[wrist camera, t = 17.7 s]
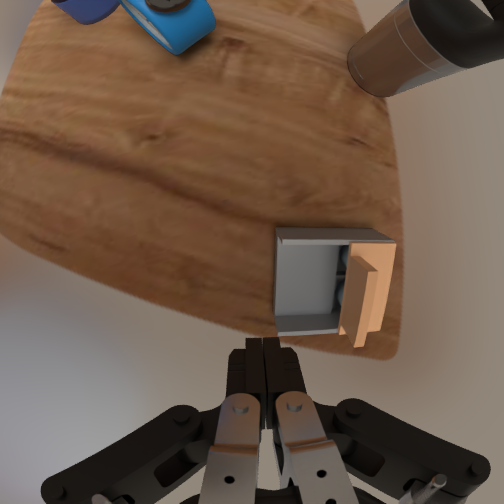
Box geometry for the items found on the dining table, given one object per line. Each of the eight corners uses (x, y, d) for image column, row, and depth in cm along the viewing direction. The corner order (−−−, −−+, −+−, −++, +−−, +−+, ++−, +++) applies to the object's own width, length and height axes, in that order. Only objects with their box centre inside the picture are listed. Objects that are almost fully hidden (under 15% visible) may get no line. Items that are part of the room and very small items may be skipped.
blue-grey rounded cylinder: (363, 235, 37) (379, 246, 32) (367, 262, 38) (382, 274, 33) (337, 244, 37) (350, 255, 32) (342, 270, 38) (355, 284, 33)
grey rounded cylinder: (358, 275, 38) (372, 289, 33) (361, 299, 39) (374, 315, 35) (333, 282, 38) (344, 298, 34) (336, 306, 40) (347, 324, 35)
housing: (372, 228, 37) (394, 240, 31) (361, 306, 41) (378, 328, 35) (275, 227, 37) (282, 239, 31) (272, 311, 40) (278, 336, 34)
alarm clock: (134, 22, 27) (92, -28, 13) (167, -3, 26) (139, -60, 12) (186, 69, 30) (154, 17, 16) (222, 42, 29) (212, -20, 15)
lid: (393, 241, 31) (418, 256, 26) (377, 327, 35) (395, 351, 29) (349, 241, 31) (370, 257, 25) (337, 331, 34) (351, 357, 29)
